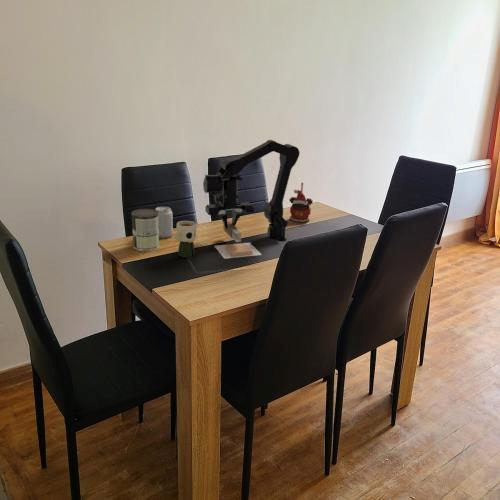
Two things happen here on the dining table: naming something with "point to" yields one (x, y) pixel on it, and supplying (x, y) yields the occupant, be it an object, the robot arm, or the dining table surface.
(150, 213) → the coffee can
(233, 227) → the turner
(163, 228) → the can
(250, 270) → the dining table surface
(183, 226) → the character mug
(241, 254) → the tile
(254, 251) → the mat
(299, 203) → the red and brown figurine
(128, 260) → the dining table surface
